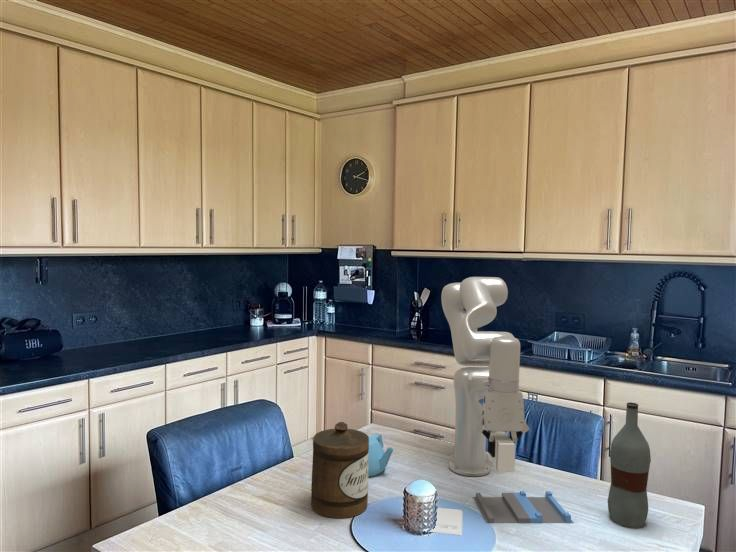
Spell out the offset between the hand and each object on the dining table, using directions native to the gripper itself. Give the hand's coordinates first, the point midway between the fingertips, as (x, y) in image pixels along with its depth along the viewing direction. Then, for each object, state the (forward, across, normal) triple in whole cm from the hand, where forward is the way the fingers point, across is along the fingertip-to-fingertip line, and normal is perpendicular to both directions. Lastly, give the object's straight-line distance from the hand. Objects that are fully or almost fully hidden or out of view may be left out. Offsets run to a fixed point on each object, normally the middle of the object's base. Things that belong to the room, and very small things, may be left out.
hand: (501, 454), depth 140 cm
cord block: (+2, 0, 0) cm, 2 cm away
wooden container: (+15, -41, +4) cm, 44 cm away
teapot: (+16, -34, +27) cm, 46 cm away
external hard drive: (+16, -15, -6) cm, 23 cm away
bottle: (+15, +32, -4) cm, 36 cm away
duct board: (+15, +6, 0) cm, 16 cm away
